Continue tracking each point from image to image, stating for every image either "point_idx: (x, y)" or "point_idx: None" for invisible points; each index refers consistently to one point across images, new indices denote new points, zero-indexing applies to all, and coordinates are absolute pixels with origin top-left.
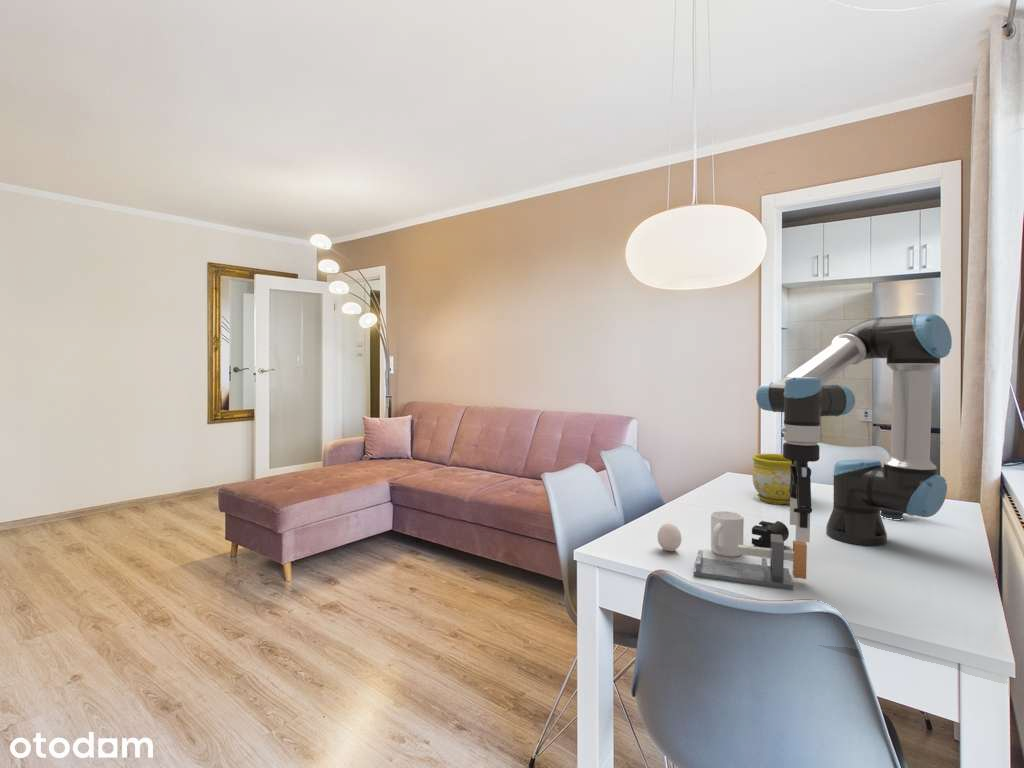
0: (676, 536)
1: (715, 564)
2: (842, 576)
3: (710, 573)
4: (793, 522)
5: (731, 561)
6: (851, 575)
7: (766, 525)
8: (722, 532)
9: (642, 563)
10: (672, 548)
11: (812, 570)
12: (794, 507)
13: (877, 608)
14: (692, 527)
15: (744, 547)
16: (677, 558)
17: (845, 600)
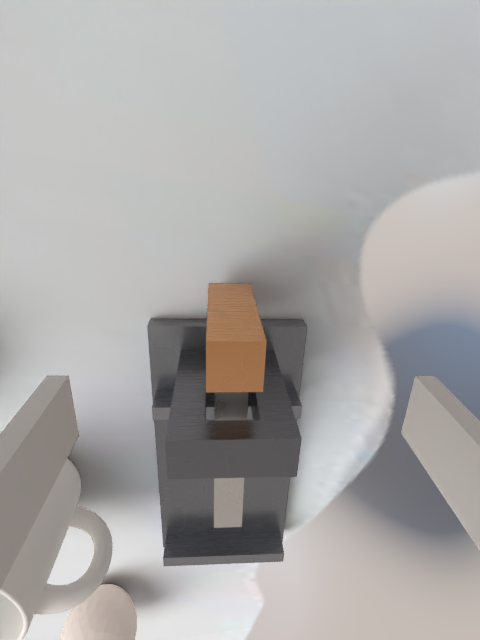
0: (119, 633)
1: (206, 507)
2: (85, 120)
3: (284, 513)
4: (69, 429)
5: (160, 475)
6: (50, 73)
7: None
8: (53, 564)
9: (233, 615)
10: (130, 597)
11: (72, 232)
12: (18, 517)
13: (394, 58)
14: None
15: (239, 511)
16: (162, 568)
17: (345, 165)
